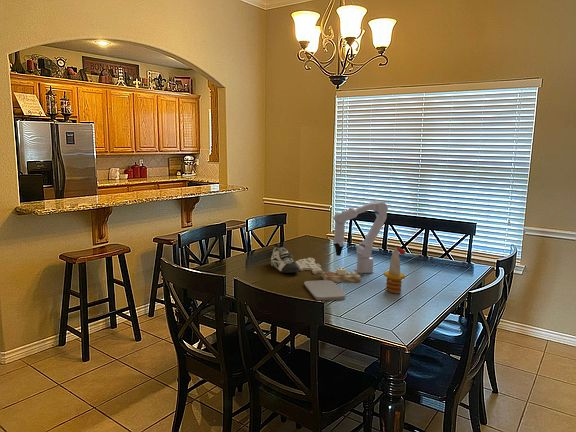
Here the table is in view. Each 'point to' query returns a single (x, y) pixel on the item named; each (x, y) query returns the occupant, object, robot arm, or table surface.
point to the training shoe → (283, 261)
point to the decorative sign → (309, 265)
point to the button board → (342, 277)
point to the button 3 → (330, 273)
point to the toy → (394, 272)
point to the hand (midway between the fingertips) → (338, 255)
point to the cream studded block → (341, 271)
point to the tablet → (324, 290)
